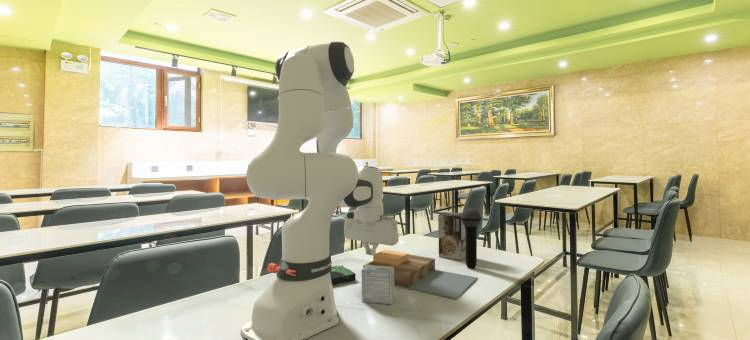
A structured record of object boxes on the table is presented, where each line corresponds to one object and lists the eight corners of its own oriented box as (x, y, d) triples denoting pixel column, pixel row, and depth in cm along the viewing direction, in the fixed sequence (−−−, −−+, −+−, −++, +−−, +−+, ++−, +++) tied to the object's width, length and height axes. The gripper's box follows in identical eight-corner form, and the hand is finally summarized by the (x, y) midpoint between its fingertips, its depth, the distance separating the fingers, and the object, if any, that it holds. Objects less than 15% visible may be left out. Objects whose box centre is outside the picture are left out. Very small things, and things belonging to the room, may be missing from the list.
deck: (408, 288, 97) (408, 274, 97) (363, 278, 106) (363, 265, 106) (435, 270, 112) (434, 258, 112) (393, 262, 121) (393, 251, 121)
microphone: (481, 271, 111) (481, 210, 110) (460, 270, 112) (460, 209, 112) (481, 265, 117) (480, 207, 116) (461, 264, 119) (460, 206, 118)
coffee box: (467, 256, 128) (467, 213, 127) (461, 260, 123) (461, 216, 122) (444, 252, 133) (443, 211, 132) (437, 256, 127) (437, 214, 127)
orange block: (397, 265, 106) (397, 259, 106) (373, 260, 111) (373, 254, 111) (408, 259, 112) (408, 253, 111) (384, 255, 117) (384, 249, 116)
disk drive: (310, 293, 97) (356, 282, 105) (309, 283, 97) (356, 272, 104) (298, 281, 106) (342, 272, 113) (298, 272, 106) (341, 263, 113)
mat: (455, 299, 90) (455, 298, 90) (408, 288, 97) (408, 287, 97) (477, 278, 104) (477, 277, 104) (435, 270, 112) (435, 269, 112)
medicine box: (395, 298, 91) (394, 266, 91) (391, 305, 87) (390, 272, 86) (366, 295, 93) (366, 264, 93) (361, 302, 89) (361, 269, 89)
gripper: (401, 215, 112) (402, 257, 112) (352, 210, 123) (352, 248, 124) (391, 218, 107) (392, 262, 107) (341, 213, 118) (341, 252, 119)
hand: (370, 254), depth 116 cm, fingers closed
